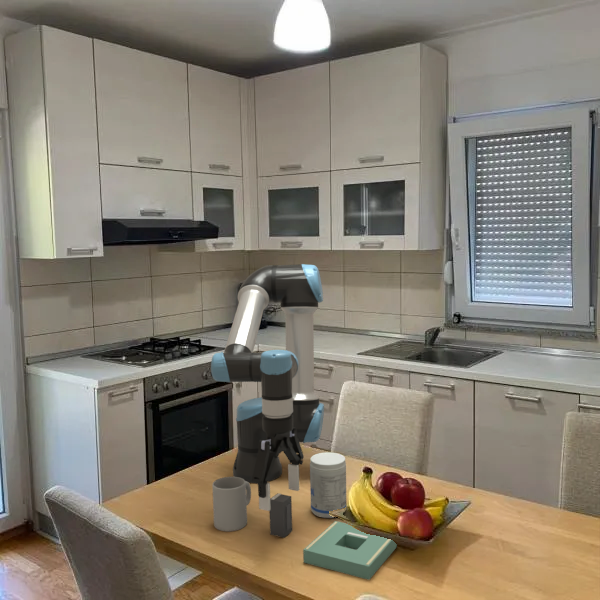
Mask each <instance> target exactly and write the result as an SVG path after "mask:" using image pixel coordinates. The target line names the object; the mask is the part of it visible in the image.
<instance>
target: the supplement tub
mask: <svg viewBox="0 0 600 600" xmlns="http://www.w3.org/2000/svg"><path fill="white" fill-rule="evenodd" d="M309 461H310V462H309V476H310V477H309V479H310V481H309V483H310V489H309V490H310V510H311V512H312V514H314V515H315V516H316V517H319V518H322V519H323V518H324V519H334V517H332V516H330V515H329V511H333V510H337V509H342V508H345V507H346V508H347V462H346V457H345V455H342V454H341V453H337V452H326V451H325V452H319V453H316V454H313V455H312V456H311V457H310V459H309Z"/></svg>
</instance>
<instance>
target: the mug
mask: <svg viewBox="0 0 600 600" xmlns="http://www.w3.org/2000/svg"><path fill="white" fill-rule="evenodd" d="M211 486H212V504H213V505H212V506H213V509H212V510H213V526H214V528H215V529H217V530H218V531H221V532H235V531H239V530H242V529H244V528H245V527H246V526H247V524H248V510H247V506H249V504H250V502H251V498H252V488H251V484H250V483H248V482H247V481H245V480H244V479H242V478H239V477H234V476H225V477H220V478H218V479H215V480H214V481H213V482H212V485H211Z"/></svg>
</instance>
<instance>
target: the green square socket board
mask: <svg viewBox="0 0 600 600" xmlns="http://www.w3.org/2000/svg"><path fill="white" fill-rule="evenodd" d="M348 524H349V523H347V524H346V522H341V521H336V520H334V521H333V523H331V524H330V525H329V526H328V527H327V528H325V530H324V531H322V532H321V533H320V534H319V535H318V536H317V537H316V538H315V539H313V540H312V541H311V542H310V543H309V544H308V545H306V546H305V547H304V548H303V551H302V552H303V553H302V554H303V563H305V564H308V565H312V566H315V567H319V568H323V569H327V570H331V571H334V572H339V573H341V574H346V575H349V576H353V577H357V578H361V579H364V580H368V581H369V580H371V579H372V577H373V576H374V575H375V573H376V572H378V570H379V569H380V567H382V565H384V563H385V562H386V561H387V560H388V558H389V557H390V556H391V554H393V552H394V551H395V549H396V548H397V547H398V546H397V545H398V543H397V544H396V543H395V542H394V541H393V540H391V539H387V538H384V537H380V536H376V535H370V534H366V533H364V532H361V531H359V530H357V529H355V528H353V527H352V526H350V525H348Z"/></svg>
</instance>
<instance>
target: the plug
mask: <svg viewBox="0 0 600 600" xmlns="http://www.w3.org/2000/svg"><path fill="white" fill-rule="evenodd" d="M292 505H293V504H292V495H287V494H282V493H276V494H275V495H273V496H272V497H270V507H271V510H270V511H268V512H269V513H268V514H269V534H270V536H276V537H279V538H283V539H285V538H286V537H287V536H288V535H290V534H291V533H292V532H293V509H292V508H293V506H292Z"/></svg>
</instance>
